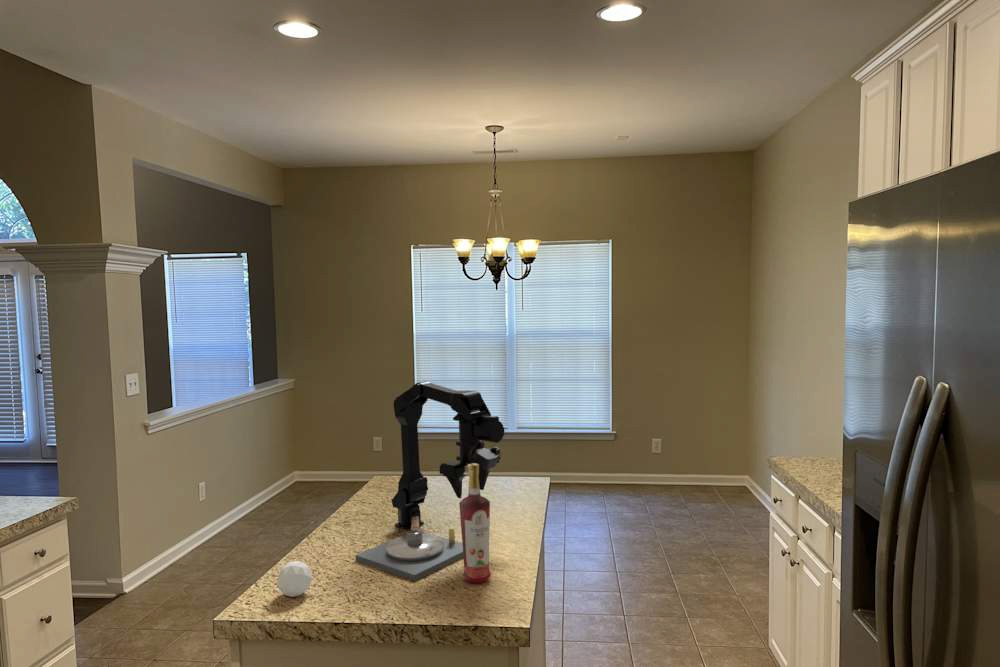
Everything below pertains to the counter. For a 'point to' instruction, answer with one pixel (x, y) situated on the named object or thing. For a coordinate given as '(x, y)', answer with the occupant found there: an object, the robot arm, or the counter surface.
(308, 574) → the ball
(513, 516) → the counter surface
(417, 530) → the grey disc with handle
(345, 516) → the counter surface
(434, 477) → the counter surface
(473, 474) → the liquor
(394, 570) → the post plate
